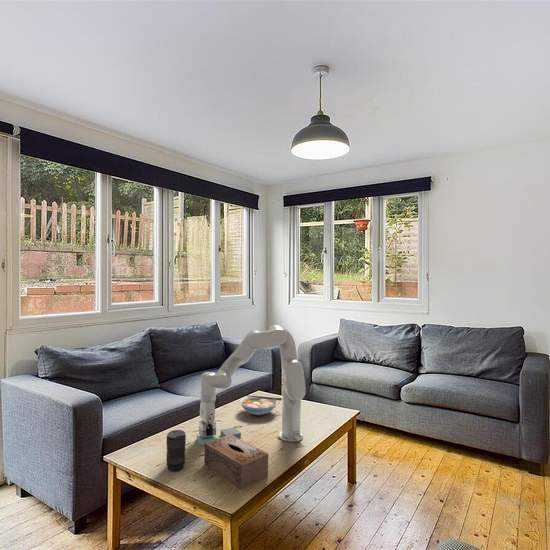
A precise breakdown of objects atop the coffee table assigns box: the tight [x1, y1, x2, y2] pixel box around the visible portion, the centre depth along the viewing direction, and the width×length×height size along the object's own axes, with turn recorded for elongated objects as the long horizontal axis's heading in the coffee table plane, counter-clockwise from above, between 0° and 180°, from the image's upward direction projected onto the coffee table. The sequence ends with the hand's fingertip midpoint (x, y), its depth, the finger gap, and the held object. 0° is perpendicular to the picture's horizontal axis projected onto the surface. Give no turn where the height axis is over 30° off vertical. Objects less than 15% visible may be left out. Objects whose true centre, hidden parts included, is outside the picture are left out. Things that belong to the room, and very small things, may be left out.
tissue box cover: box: [203, 434, 269, 490], centre depth 167 cm, size 26×14×10 cm, turn 45°
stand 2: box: [220, 427, 242, 439], centre depth 201 cm, size 8×8×2 cm
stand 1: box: [196, 433, 218, 447], centre depth 195 cm, size 8×8×2 cm
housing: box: [198, 419, 217, 438], centre depth 195 cm, size 7×6×6 cm
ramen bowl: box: [239, 394, 283, 416], centre depth 234 cm, size 25×23×8 cm
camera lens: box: [166, 429, 187, 472], centre depth 168 cm, size 8×8×15 cm
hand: (207, 432), depth 195 cm, fingers closed on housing, 5 cm apart
